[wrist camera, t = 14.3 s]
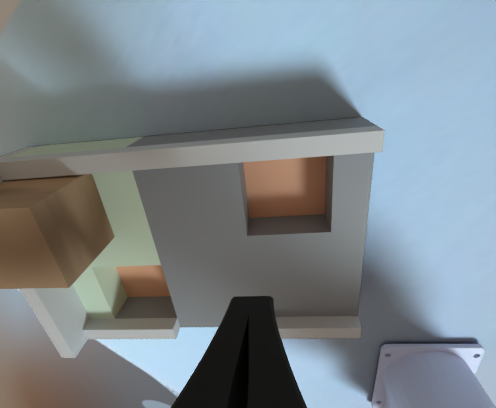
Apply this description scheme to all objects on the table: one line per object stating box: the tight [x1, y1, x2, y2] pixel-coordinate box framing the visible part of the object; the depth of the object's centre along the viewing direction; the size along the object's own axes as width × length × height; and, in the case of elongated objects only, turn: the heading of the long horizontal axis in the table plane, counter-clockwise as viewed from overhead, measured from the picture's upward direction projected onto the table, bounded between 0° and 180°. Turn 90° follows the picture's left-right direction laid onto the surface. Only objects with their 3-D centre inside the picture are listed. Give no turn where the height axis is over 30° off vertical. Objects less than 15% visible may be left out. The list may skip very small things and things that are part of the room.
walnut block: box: [0, 174, 115, 289], centre depth 15 cm, size 4×4×4 cm
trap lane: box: [0, 117, 385, 358], centre depth 18 cm, size 14×21×5 cm, turn 96°
